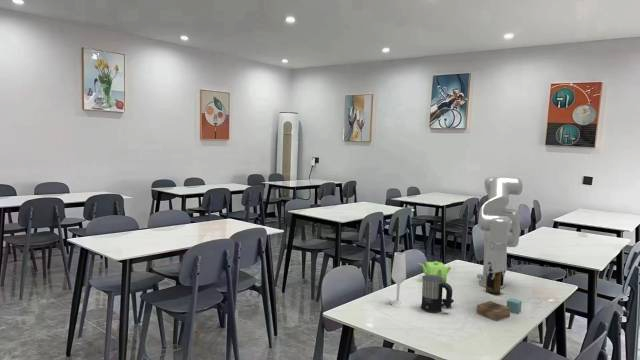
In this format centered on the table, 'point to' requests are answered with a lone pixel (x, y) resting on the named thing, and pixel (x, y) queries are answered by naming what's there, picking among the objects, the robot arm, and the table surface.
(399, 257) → the champagne flute
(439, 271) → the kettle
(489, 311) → the block
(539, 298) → the table surface
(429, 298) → the milk frother
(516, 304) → the teal cube
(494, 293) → the condiment
